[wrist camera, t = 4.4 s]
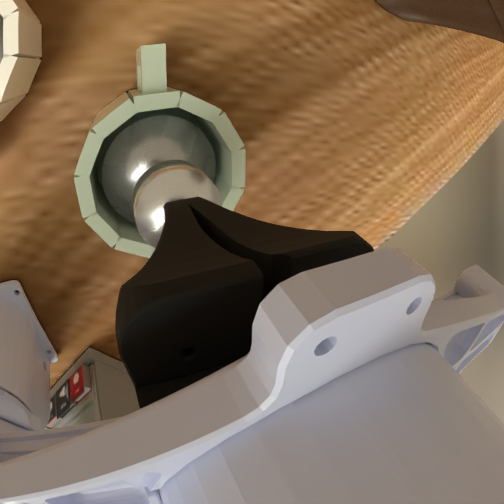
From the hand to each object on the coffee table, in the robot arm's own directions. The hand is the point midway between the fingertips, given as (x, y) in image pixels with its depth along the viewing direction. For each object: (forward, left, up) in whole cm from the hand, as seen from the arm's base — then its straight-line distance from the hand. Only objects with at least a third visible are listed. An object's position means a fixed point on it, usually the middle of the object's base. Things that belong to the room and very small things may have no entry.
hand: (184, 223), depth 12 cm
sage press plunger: (0, 0, -7) cm, 7 cm away
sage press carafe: (+1, 0, -10) cm, 10 cm away
